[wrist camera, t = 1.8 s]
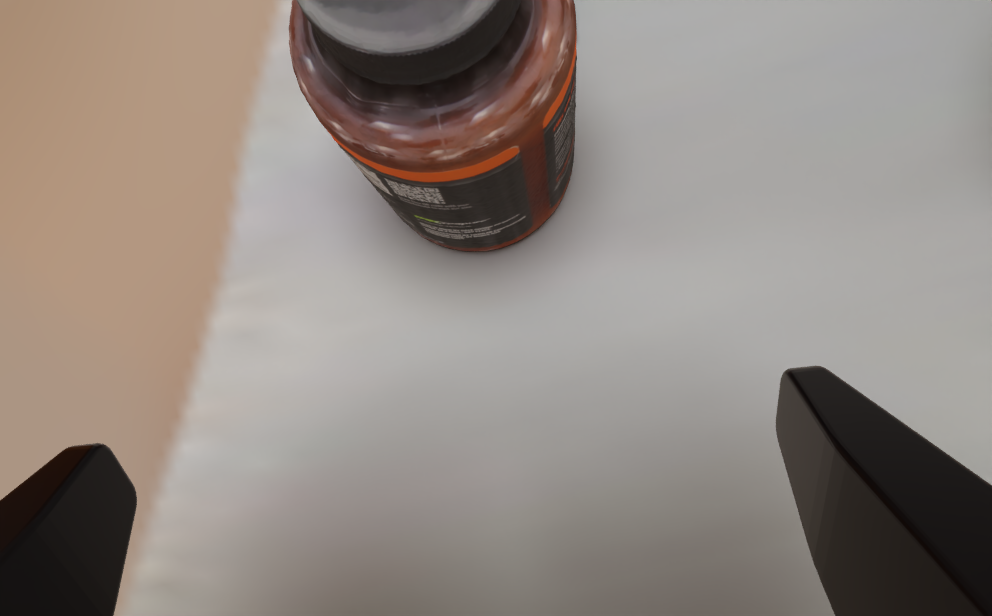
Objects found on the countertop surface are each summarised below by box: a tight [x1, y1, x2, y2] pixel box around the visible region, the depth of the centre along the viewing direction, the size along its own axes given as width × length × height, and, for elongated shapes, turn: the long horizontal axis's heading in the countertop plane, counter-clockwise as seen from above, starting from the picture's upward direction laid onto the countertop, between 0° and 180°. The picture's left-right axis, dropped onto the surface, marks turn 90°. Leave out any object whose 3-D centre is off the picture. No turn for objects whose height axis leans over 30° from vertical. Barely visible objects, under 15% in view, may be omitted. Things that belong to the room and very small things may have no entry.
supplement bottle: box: [289, 0, 577, 251], centre depth 18 cm, size 6×6×11 cm
